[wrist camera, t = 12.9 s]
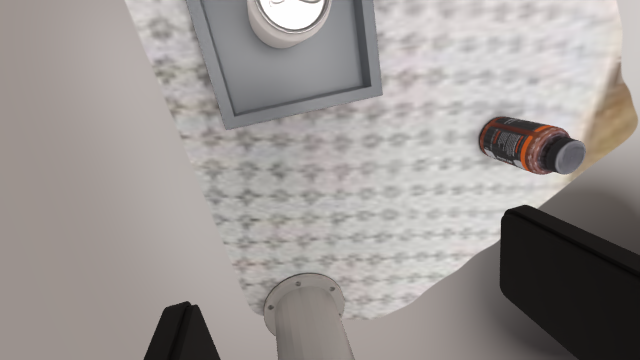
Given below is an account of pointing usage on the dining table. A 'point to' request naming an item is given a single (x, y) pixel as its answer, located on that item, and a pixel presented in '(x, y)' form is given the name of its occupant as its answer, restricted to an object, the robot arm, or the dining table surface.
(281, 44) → the can
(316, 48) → the tray
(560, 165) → the supplement bottle
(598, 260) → the robot arm
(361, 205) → the dining table surface
